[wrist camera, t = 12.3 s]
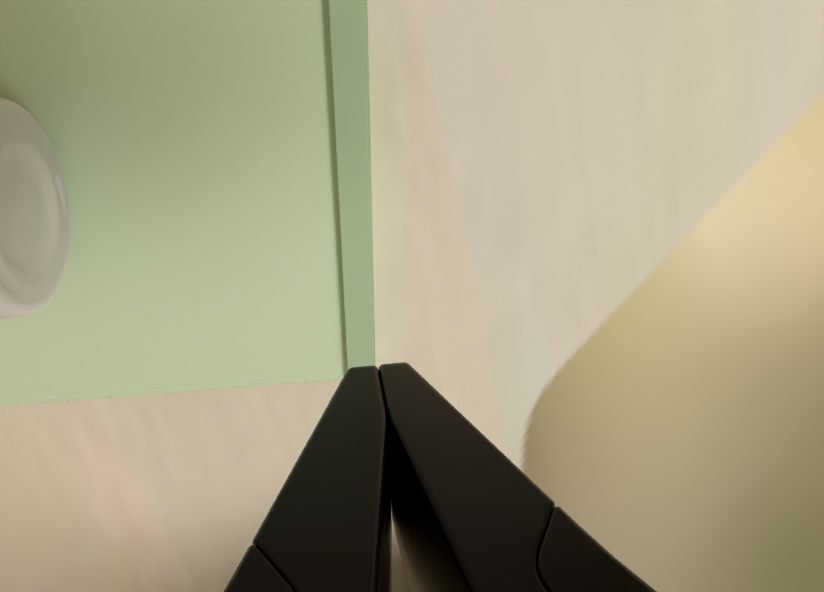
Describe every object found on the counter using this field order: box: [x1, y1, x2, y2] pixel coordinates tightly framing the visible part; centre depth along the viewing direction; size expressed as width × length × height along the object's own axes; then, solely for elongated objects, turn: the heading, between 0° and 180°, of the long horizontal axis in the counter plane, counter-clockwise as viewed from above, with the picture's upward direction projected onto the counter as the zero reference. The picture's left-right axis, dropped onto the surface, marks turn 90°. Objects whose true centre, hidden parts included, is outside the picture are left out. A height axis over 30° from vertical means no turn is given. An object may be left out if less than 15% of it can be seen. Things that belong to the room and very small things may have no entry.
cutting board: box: [0, 0, 375, 406], centre depth 17 cm, size 16×20×1 cm
